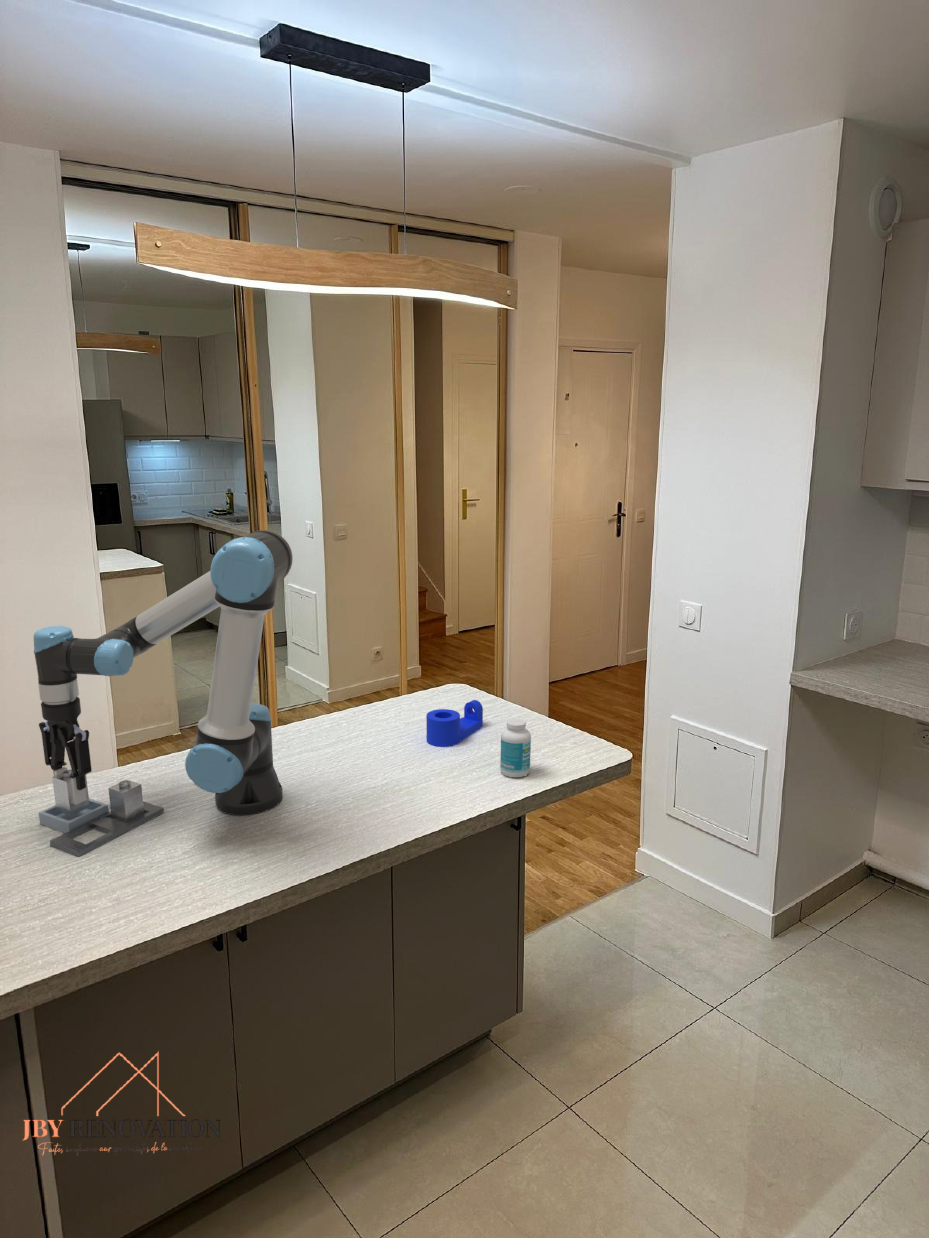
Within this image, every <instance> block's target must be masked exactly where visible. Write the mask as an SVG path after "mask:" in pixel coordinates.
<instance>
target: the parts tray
mask: <svg viewBox="0 0 929 1238" xmlns="http://www.w3.org/2000/svg"><path fill="white" fill-rule="evenodd" d="M89 804H90V807H89V808H87V809H85V810H82V811H80V812H78V813H76V814H74V815H72V816H70V815H67V814H64V813H61V812H58V811H56V804H54V805H53V806H50V807H47V808H46V809H44V810H41V811H39V812H38V820H39V825H42V826H45V827H47V828H50V829H53V830H55V831H59V832H61V833H63V834H64V833H67V832H69V831H71V830H73V829H75V828H77V827H79V826H81V825H83V824H85V823H87V822H89V821H91V820H93V819H95V818H97V817H100V816H102V815H104V814H106V813H108V812H110V809H109V804H108V803H104V802H101V801H98V800H95V799H92V798H90V797H89Z"/></svg>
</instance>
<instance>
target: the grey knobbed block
mask: <svg viewBox="0 0 929 1238" xmlns="http://www.w3.org/2000/svg"><path fill="white" fill-rule="evenodd" d="M107 790H108V799H109V806H110V811H111V817H112V819H113V820H116V821H119V822H122V823H125V824H126V823H128V822H130V821H132V820H134V819H136V818H138V817H140V816H142V815H144V806H143V801H144V799H143V798H144V797H143V796H144V795H143V788H142V784H141V783H138V782H135V781H131V780H129V779H125V780H121V781H119V782H118V783H116V784H113V785H112V786H110V787H107Z"/></svg>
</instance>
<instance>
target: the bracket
mask: <svg viewBox="0 0 929 1238" xmlns="http://www.w3.org/2000/svg"><path fill="white" fill-rule="evenodd" d="M483 708H484V707H483V705H482V703H481V702H480V701H479V700H477V699H472V700H471V701H468V702H466V703H465V705H464V706H463V717H461V714H460V713H459V712H458V711H456V710H453V709H446V708H442V709H441V708H439V709H434V710H431V711H429V712H427V713H426V715H425V716H426V718H425V719H426V720H425V721H426V723H425V724H426V743H427V744H429V745H430V746H432V747H436V748H437V747H438V748H449V747H454V746H456V745H458V744H459V743H461V742H462V741H464V740H465V739H467V738H468V737H470V736H471V735H472V734H474V733H476V731H478V730H480V729H481V728H482V727H484V722H483V721H484V713H483V712H484V709H483Z"/></svg>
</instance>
